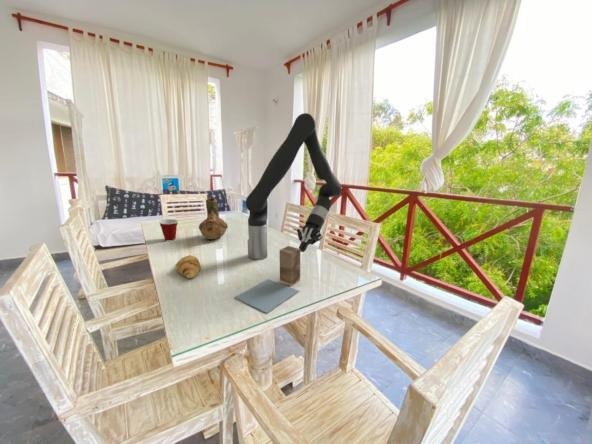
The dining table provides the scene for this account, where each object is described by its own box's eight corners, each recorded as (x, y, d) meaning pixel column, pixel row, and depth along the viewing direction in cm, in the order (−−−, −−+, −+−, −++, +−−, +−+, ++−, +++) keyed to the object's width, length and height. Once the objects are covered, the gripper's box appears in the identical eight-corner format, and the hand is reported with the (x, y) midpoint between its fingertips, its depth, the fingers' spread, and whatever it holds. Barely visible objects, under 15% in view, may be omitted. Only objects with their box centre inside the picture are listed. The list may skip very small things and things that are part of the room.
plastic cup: (175, 242, 153) (173, 222, 150) (157, 242, 153) (154, 222, 150) (183, 236, 163) (181, 218, 160) (166, 236, 163) (164, 218, 160)
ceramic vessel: (198, 246, 145) (194, 203, 139) (201, 234, 170) (197, 196, 163) (229, 244, 150) (226, 202, 144) (227, 232, 174) (225, 195, 168)
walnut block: (291, 286, 101) (291, 253, 98) (279, 282, 105) (279, 249, 102) (300, 280, 106) (300, 249, 103) (288, 276, 110) (288, 246, 106)
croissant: (199, 286, 108) (207, 269, 108) (175, 281, 103) (183, 263, 102) (192, 267, 126) (199, 252, 126) (172, 261, 121) (179, 246, 120)
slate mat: (266, 313, 83) (266, 312, 83) (234, 298, 93) (234, 297, 93) (299, 291, 97) (299, 290, 97) (268, 279, 107) (268, 278, 107)
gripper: (301, 211, 116) (285, 243, 110) (327, 215, 109) (310, 250, 102) (308, 220, 122) (292, 251, 115) (332, 224, 114) (317, 258, 108)
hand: (301, 250), depth 109 cm, fingers closed
